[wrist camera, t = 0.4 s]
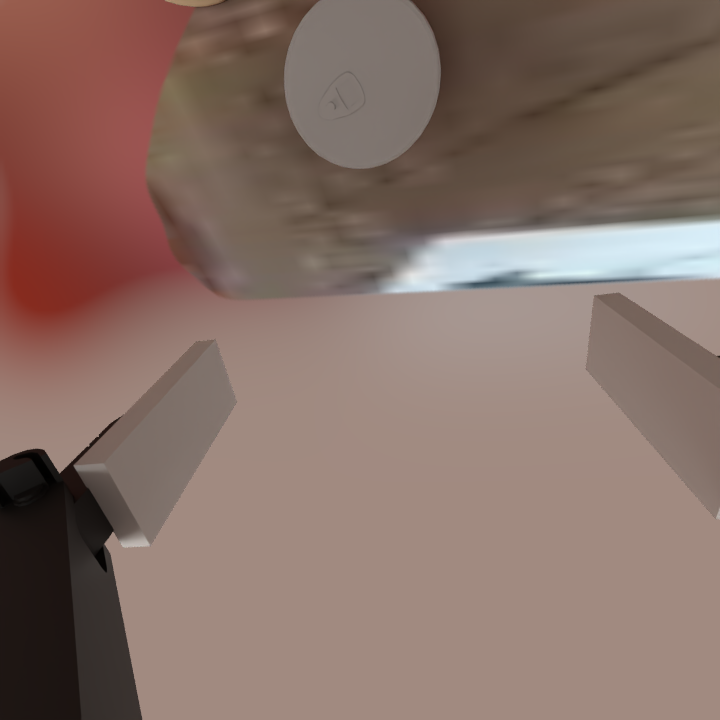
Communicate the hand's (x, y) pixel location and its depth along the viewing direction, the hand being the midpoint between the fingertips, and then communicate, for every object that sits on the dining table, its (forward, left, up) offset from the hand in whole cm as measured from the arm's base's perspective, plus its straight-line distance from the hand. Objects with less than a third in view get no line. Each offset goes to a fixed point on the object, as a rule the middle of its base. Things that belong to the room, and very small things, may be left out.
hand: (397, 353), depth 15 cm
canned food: (-2, -7, -24) cm, 25 cm away
